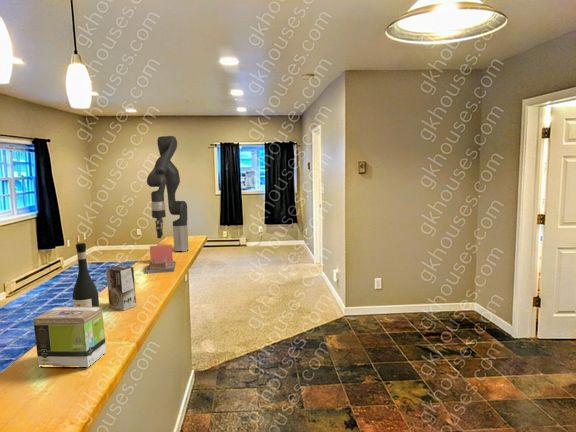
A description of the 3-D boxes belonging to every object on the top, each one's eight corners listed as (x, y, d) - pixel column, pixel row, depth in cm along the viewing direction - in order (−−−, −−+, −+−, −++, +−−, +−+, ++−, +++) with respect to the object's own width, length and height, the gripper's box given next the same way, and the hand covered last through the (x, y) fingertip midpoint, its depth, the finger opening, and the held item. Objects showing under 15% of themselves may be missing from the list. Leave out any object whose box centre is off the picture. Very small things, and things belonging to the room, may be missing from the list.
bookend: (165, 263, 228) (165, 256, 227) (173, 262, 229) (172, 255, 228) (164, 267, 218) (164, 260, 218) (172, 267, 219) (171, 259, 219)
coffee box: (137, 305, 163) (134, 266, 161) (123, 311, 157) (120, 270, 155) (122, 302, 167) (119, 264, 165) (108, 307, 162) (105, 268, 160)
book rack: (150, 265, 230) (149, 256, 229) (175, 263, 233) (175, 254, 232) (146, 273, 212) (145, 263, 212) (173, 271, 215) (173, 261, 215)
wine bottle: (90, 333, 136) (82, 246, 133) (70, 332, 138) (61, 245, 134) (105, 324, 144) (98, 241, 141) (86, 323, 146) (78, 241, 142)
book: (151, 262, 238) (150, 245, 236) (172, 261, 240) (171, 244, 239) (150, 264, 234) (149, 247, 232) (172, 262, 236) (171, 245, 235)
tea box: (107, 353, 122) (103, 305, 120) (87, 369, 112) (83, 318, 110) (60, 352, 123) (55, 305, 121) (37, 368, 113) (31, 317, 111)
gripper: (152, 208, 239) (154, 235, 241) (150, 210, 225) (152, 239, 227) (166, 207, 241) (167, 234, 243) (164, 210, 227) (165, 238, 229)
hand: (160, 237), depth 235 cm, fingers open, 8 cm apart
